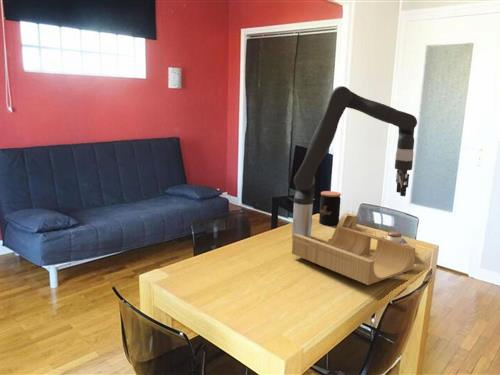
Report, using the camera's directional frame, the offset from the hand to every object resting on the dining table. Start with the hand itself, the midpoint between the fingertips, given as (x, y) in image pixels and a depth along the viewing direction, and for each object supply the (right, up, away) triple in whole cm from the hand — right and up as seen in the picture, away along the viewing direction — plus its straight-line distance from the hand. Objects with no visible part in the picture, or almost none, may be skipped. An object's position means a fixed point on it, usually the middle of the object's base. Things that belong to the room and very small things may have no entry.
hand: (400, 194), depth 198 cm
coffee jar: (-26, -18, +38) cm, 50 cm away
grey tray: (-4, -26, -5) cm, 27 cm away
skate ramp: (-25, -28, -16) cm, 41 cm away
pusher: (-4, -27, -11) cm, 29 cm away
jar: (-3, -25, +1) cm, 25 cm away
